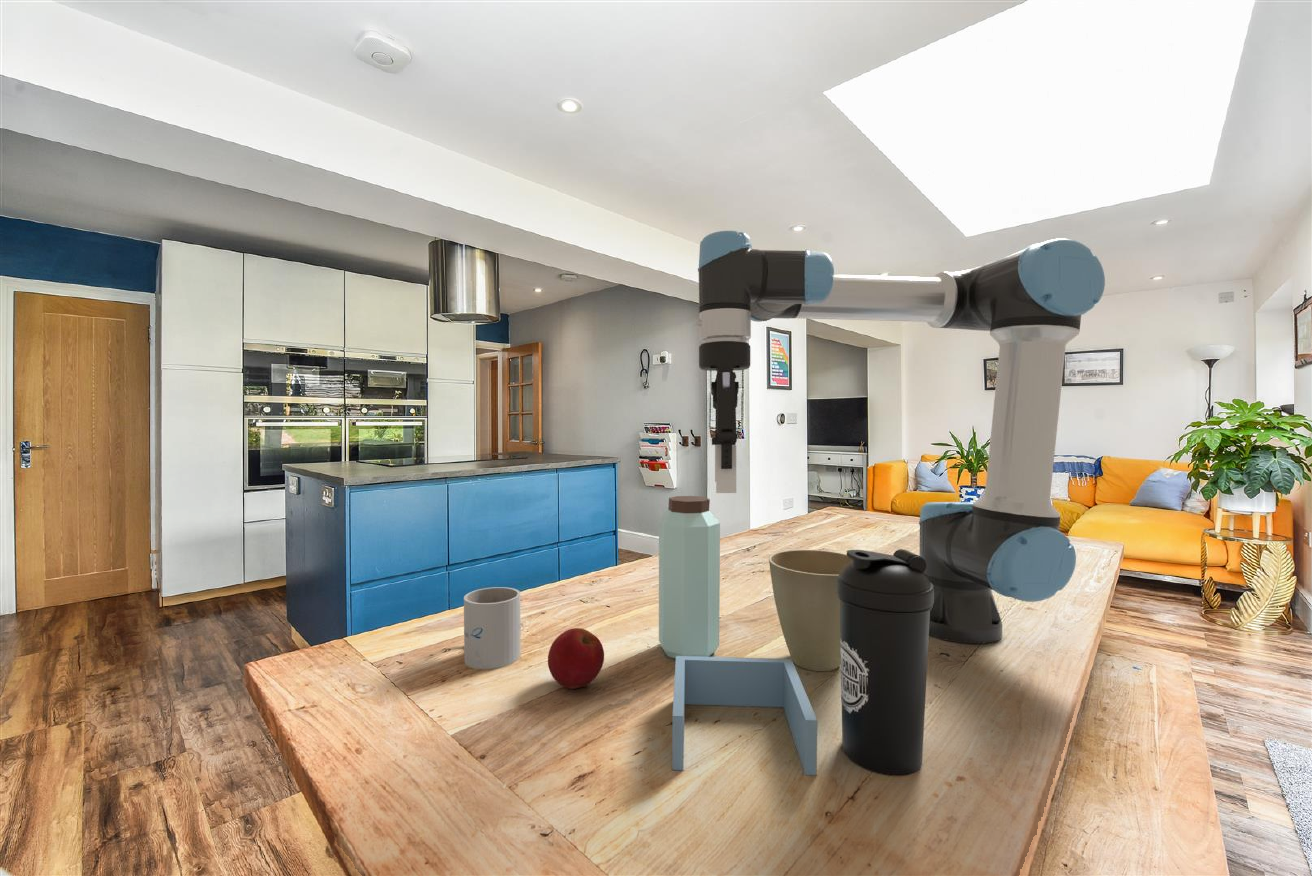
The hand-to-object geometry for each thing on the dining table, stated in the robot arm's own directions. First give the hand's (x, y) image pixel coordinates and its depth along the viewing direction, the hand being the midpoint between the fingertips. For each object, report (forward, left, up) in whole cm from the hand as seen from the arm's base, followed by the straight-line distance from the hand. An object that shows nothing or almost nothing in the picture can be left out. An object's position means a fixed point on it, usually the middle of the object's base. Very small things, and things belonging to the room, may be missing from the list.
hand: (724, 486), depth 84 cm
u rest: (-1, +17, -28) cm, 32 cm away
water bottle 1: (+5, -7, -28) cm, 30 cm away
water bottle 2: (-17, +20, -28) cm, 38 cm away
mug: (+37, -4, -28) cm, 47 cm away
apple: (+21, +6, -28) cm, 36 cm away
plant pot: (-15, -4, -28) cm, 32 cm away
